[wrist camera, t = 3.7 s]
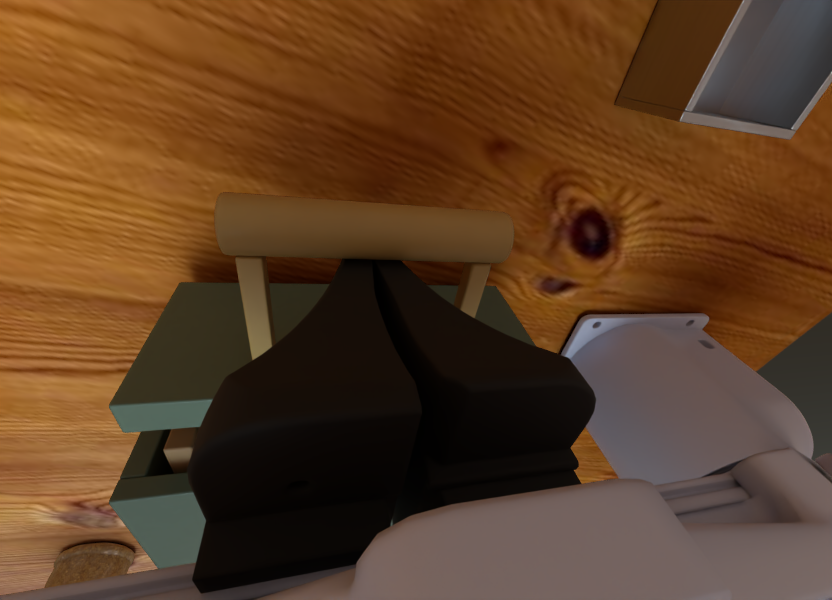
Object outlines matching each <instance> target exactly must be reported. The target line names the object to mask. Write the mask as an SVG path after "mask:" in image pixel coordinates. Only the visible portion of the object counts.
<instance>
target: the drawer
mask: <svg viewBox="0 0 832 600" xmlns="http://www.w3.org/2000/svg"><path fill="white" fill-rule="evenodd" d="M215 232H216V238H217V242H218V245H219V247H220V250H221V251H222V253H224V254H226V255H236V258H235V261H236V267H237V273H238V279H239V283H198V282H181V283H179V285H178V287H177V288H176V290H175V292H174V294H173V295H172V297H171V299H170V300H169V302H168V304H167V306H166V307H165V309H164V311H163V313H162V314H161V316H160V318H159V320H158V321H157V323H156V325H155V326H154V328H153V330H152V332H151V333H150V335H149V337H148V339H147V340H146V342H145V344H144V345H143V347H142V349H141V351H140V352H139V354H138V356H137V358H136V359H135V361H134V363H133V365H132V366H131V368H130V370H129V371H128V373H127V375H126V377H125V378H124V380H123V382H122V384H121V385H120V387H119V389H118V390H117V392H116V394H115V396H114V397H113V399H112V401H111V403H110V404H109V408H110V410H111V412H112V413H113V415H114V417H115V419H116V420H117V422H118V424H119V426H120V428H121V429H122V431H123V432H125V433H128V432H141V431H153V430H165V429H171V432H170V434H169V437H168V439H167V442H166V445H165V447H164V453H165V455H166V457H167V460H168V462H169V464H170V466H171V468H172V470H173V472H174V474H176V473H185V472H187V467H188V464H189V461H190V457H191V454H192V451H193V447H194V444H195V441H196V438H197V434H198V431H199V429H200V426H201V423H202V421H203V419H204V417H205V414H206V412H207V410H208V408H209V406H210V404H211V402H212V400H213V398H214V396H215V394H216V393H217V391H218V389H219V387H220V386H221V384H222V382H223V380H224V379H225V377H226V376H228V375H229V374H231V373H233V372H235V371H236V370H238V369H239V368H241V367H243V366H244V365H246V364H247V363H249V362H251V361H252V360H254V359H255V358H257V357H259V356H260V355H262V354H263V353H264V352H266V351H267V350H268V349H270V348H271V347H272V346H273V345H275V344H276V343H277V342H278V341H279V340H281V339H282V338H283V337H284V336H286V335H287V334H288V333H289V332H290V331H291V330H292V329H293V328H295V327H296V326H297V325H298V324H299V322H300V321H301V320H302V319H303V318H304V317H305V316H306V315H307V314H308V313H309V312H310V311H311V309H312V308H313V307H314V306H315V305H316V303H317V302H318V301H319V299H320V298H321V297H322V295H323V294H324V292H325V291H326V289H327V288H328V286H329V284H283V283H269V278H268V269H267V260H266V256H272V257H306V258H340V259H373V260H407V261H441V262H465V264H464V267H463V271H462V275H461V279H460V282H459V286H454V285H427V286H429V287H430V288H431V289H432V290H434V291H435V292H436V293H437V294H438V295H440V296H441V297H442V298H444V299H445V300H447V301H448V302H450V303H451V304H453V305H454V306H455V307H457V308H458V309H460V310H461V311H463V312H465V313H466V314H468V315H470V316H471V317H473V318H475V319H477V320H479V321H481V322H482V323H484V324H486V325H488V326H490V327H492V328H494V329H496V330H498V331H500V332H502V333H504V334H507V335H509V336H511V337H514V338H516V339H518V340H521V341H523V342H525V343H528V344H530V345H533V346H536V345H535V344H534V342H533V341H532V339H531V338H530V336H529V335H528V333H527V332H526V330H525V329H524V327H523V326H522V324H521V323H520V321H519V320H518V319H517V317H516V316H515V314H514V313H513V311H512V310H511V308H510V307H509V305H508V304H507V302H506V301H505V299H504V298H503V296H502V295H501V293H500V292H499V290H498V289H497V287H496V286H485V284H486V281H487V278H488V275H489V271H490V268H491V264H490V263H501V262H503V261H505V260H506V259H507V258H508V256H509V254H510V252H511V250H512V246H513V241H514V226H513V222H512V219H511V217H510V216H509V215H508V214H507V213H505V212H499V211H485V210H471V209H457V208H443V207H429V206H414V205H400V204H386V203H372V202H358V201H343V200H329V199H315V198H301V197H287V196H273V195H258V194H244V193H230V192H223V193H220V194H219V196H218V198H217V201H216V205H215Z"/></svg>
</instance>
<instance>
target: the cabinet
mask: <svg viewBox="0 0 832 600" xmlns="http://www.w3.org/2000/svg"><path fill="white" fill-rule="evenodd" d="M170 432H171V429H165V430H153V431H141V433H140V435H139V437H138V440H137V442H136V444H135V446H134V448H133V450H132V453H131V455H130V457H129V459H128V461H127V463H126V466H125V468H124V470H123V472H122V474H121V477H120V479H121V480H119V481H118V483H117V485H116V487H115V490H114V492H113V494H112V496H111V498H110V500H109V504H110V505H111V507H112V508H113V509H114V511H115V512H116V513H117V515H118V516H119V517H120V519H121V520H122V521H123V523H124V524H125V525H126V527H127V528H128V529H129V531H130V532H131V533H132V535H133V536H134V537H135V539H136V540H137V541H138V542H139V544H140V545H141V546H142V548H143V549H144V550H145V552H146V553H147V554H148V556H149V557H150V558H151V560H152V561H153V562H154V564H155V565H156V566H157V568H158V569H161V568H167V567H173V566H178V565H184V564H190V563H196V560H197V556H198V552H199V548H200V544H201V540H202V536H203V532H204V527H205V523H206V520H205V518H204V515H203V513H202V511H201V509H200V506H199V504H198V502H197V500H196V497H195V495H194V493H193V491H192V489H191V486H190V484H189V481H188V474H187V472H185V473H176V474H174V472H173V470H172V468H171V466H170V464H169V462H168V460H167V457H166V455H165V453H164V447H165V445H166V442H167V439H168V437H169V434H170ZM392 525H393V524H392V521H391V525H390V527H391V526H392Z"/></svg>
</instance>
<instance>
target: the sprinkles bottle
mask: <svg viewBox="0 0 832 600" xmlns="http://www.w3.org/2000/svg"><path fill="white" fill-rule="evenodd" d="M134 557H135V556H134V552H133V551H132V550H131V549H130V548H127V547H126V546H123V545H119V544H114V543H108V542H101V543H90V544H83V545H78V546H75V547H72V548H70V549H68V550H65V551H63V552H62V553H61V554H60V555H59V556H58V557H57V559H56V560H55V562H54V569H53V572H52V573H51V575H50V577H49V579H48V581H47V583H46V585H45V587H44V588H48V587H54V586H60V585H66V584H72V583H78V582H84V581H89V580H95V579H101V578H107V577H113V576H119V575H125V574H127V571H128V569H129V567H130V565H131V564H132V562H133V560H134Z"/></svg>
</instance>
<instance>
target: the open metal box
mask: <svg viewBox="0 0 832 600" xmlns="http://www.w3.org/2000/svg"><path fill="white" fill-rule="evenodd" d="M831 82H832V0H659V1H658V3H657V5H656V8H655V10H654V12H653V15H652V17H651V19H650V22H649V24H648V27H647V29H646V31H645V34H644V36H643V38H642V41H641V43H640V45H639V48H638V50H637V53H636V55H635V57H634V60H633V62H632V64H631V67H630V69H629V71H628V74H627V76H626V79H625V81H624V83H623V86H622V88H621V90H620V93H619V95H618V97H617V100H616V102H615V105H616V106H620V107H624V108H628V109H632V110H636V111H640V112H644V113H648V114H651V115H655V116H659V117H663V118H667V119H671V120H675V121H679V122H685V123H691V124H697V125H703V126H709V127H715V128H721V129H727V130H733V131H739V132H745V133H752V134H758V135H764V136H770V137H776V138H782V139H788V140H789V139H791V138H792V136H793V135H794V134H795V132H796V131H795V130H797V129H798V128H799V127H800V125H801V124H802V122H803V121H804V120H805V118H806V117H807V115H808V114H809V113H810V111H811V110H812V109H813V107H814V106H815V104H816V103H817V102H818V100H819V99H820V97H821V96H822V95H823V93H824V92H825V90H826V89H827V88H828V86H829V85H830V83H831Z"/></svg>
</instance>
